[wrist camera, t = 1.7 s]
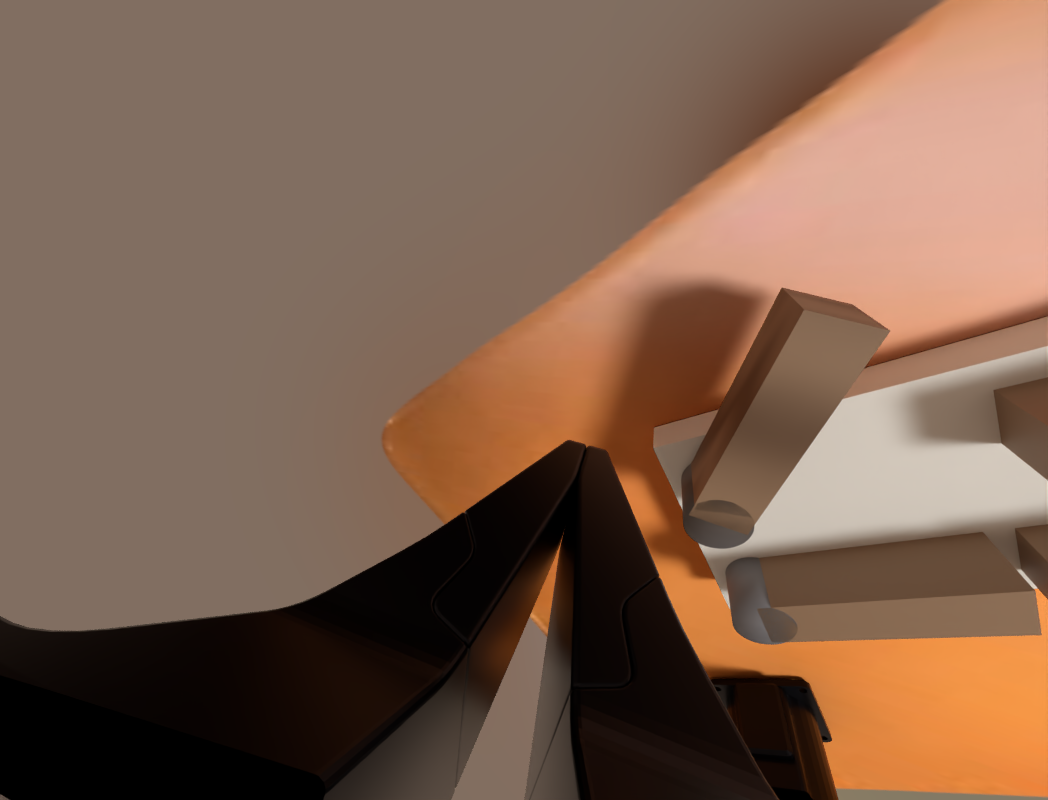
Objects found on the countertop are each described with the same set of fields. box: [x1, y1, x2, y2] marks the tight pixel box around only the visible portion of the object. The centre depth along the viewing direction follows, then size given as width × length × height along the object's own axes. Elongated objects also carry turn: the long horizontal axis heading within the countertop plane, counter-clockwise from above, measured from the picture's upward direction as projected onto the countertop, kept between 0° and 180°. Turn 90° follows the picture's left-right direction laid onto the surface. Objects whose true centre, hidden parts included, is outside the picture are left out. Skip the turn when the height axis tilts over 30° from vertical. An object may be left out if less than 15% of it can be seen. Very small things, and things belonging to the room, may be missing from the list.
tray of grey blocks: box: [653, 317, 1048, 644], centre depth 16 cm, size 12×24×5 cm, turn 120°
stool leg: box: [681, 288, 890, 549], centre depth 17 cm, size 11×3×3 cm, turn 170°
